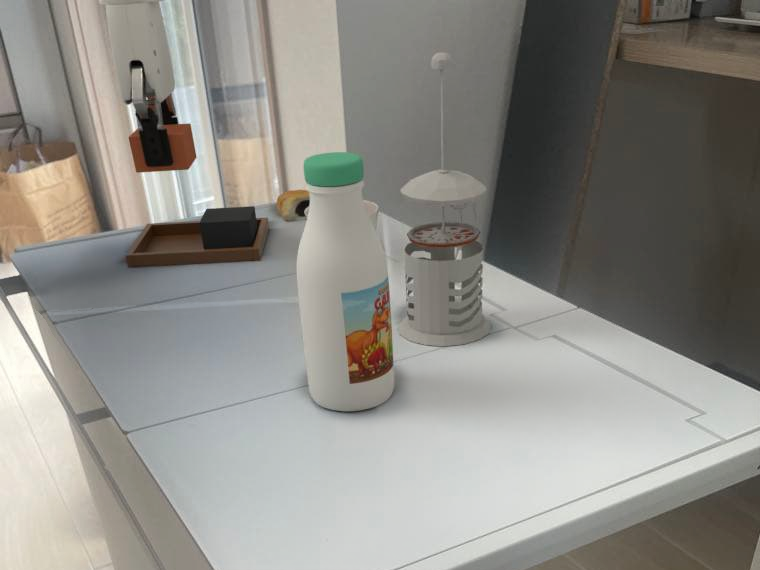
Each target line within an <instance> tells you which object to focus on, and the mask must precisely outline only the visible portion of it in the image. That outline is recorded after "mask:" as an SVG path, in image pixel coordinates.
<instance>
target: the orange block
mask: <svg viewBox="0 0 760 570" xmlns="http://www.w3.org/2000/svg"><path fill="white" fill-rule="evenodd" d="M163 129H167V133H168V138H169V143H170V148H171V153H172V159H173V164H172V165H171V166H160V167H148V166H147V165H146V163H145V158H144V154H143V149H142V144H141V140H140V135H139V130H138V128H136V129H135V130H134V131H133V132H132V133H131V134H130V135H129V136H128V142H129V147H130V151H131V156H132V160H133V164H134V165H133V166H134V169H135V172H136V173H138V174H139V173H155V172H172V171H187V170H189V169H190V168H191V167H192V165H193V164H194V162H195V161H196V159H197V152H196V151H197V150H196V147H195V141H194V135H193V131H192V124H191V123H189V122H188V123H178V124H172V125H163Z"/></svg>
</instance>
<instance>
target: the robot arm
mask: <svg viewBox="0 0 760 570" xmlns="http://www.w3.org/2000/svg"><path fill="white" fill-rule="evenodd" d="M162 1H165V0H98V3H99V5H101V6H102V5H103V6H105V16H106V22H107V24H106V25H107V31H108V38H109V43H110V44H109V45H110V49H111V55H112V60H113V61H112V62H113V66H114V72H115V78H116V83H117V89H118V93H119V97H120V98H119V99H120V100H121V102H122V103H123V104H125V105H126V106H129V105H131V104H132V106H133V108H134V110H135V113H134V115H135V117H136V124H137V125H136V126H137V129H138V130H139V135H140V140H141V144H142V149H143V154H144V158H145V163H146V165H147V166H148V167H160V166H171V165H172V164H173V159H172V153H171V148H170V143H169V138H168V133H167V129H163V125H172V124H179V118H178V117H177V111H176V106H175V103H174V99H173V96H172V95H173V94H172V93H173V92H174V91H175V89H176V80H175V73H174V66H173V61H172V60H173V59H172V55H171V50H170V47H169V41H168V36H167V30H166V26H165V22H164V16H163V13H162V8H161V4H160V2H162Z"/></svg>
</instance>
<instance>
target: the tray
mask: <svg viewBox="0 0 760 570" xmlns="http://www.w3.org/2000/svg"><path fill="white" fill-rule="evenodd" d="M256 220H257V228H258V232H257V236H256V239H255V242H254V245H253V247H243V248H224V249H205V250H204V247H203V242H202V236H201V230H200V225H199V222H200V220H194V221H193V220H191V221H175V222H174V221H173V222H171V221H170V222H156V223H155V222H154V223H153V222H152V223H146V225H145V226H144V228H143V229H142V230H141V232H140V233H139V234H138V236H137V238H136V239H135V240H134V242H133V244H132V245H131V246H130V248H129V249H128V251H127V252H126V254H125V256H124V257H125V260H126V265H127V268H128V269H132V268H151V267H154V268H155V267H170V266H171V267H173V266H187V265H189V266H191V265H206V264H207V265H208V264H209V265H210V264H227V263H244V262H260V261H261V260H262V256H263V252H264V249H265V245H266V241H267V240H268V239H267V238H268V235H269V231H270V225H269V217H256Z"/></svg>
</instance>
